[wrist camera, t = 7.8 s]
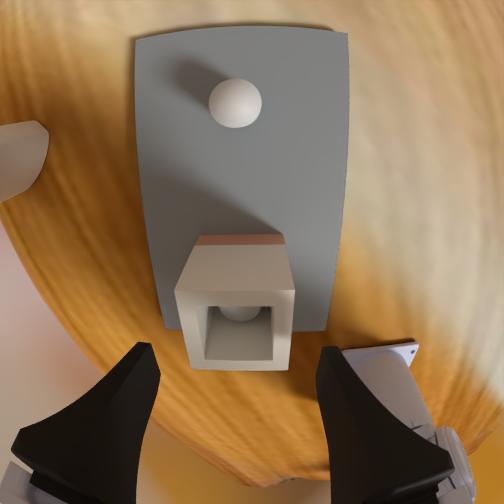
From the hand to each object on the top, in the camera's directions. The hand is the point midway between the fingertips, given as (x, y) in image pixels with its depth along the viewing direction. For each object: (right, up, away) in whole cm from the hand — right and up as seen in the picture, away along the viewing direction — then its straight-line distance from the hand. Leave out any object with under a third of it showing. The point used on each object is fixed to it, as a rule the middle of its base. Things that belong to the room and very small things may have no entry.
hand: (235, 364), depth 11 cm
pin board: (0, +8, +6) cm, 10 cm away
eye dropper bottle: (-16, +12, +4) cm, 20 cm away
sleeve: (0, +3, +7) cm, 8 cm away
